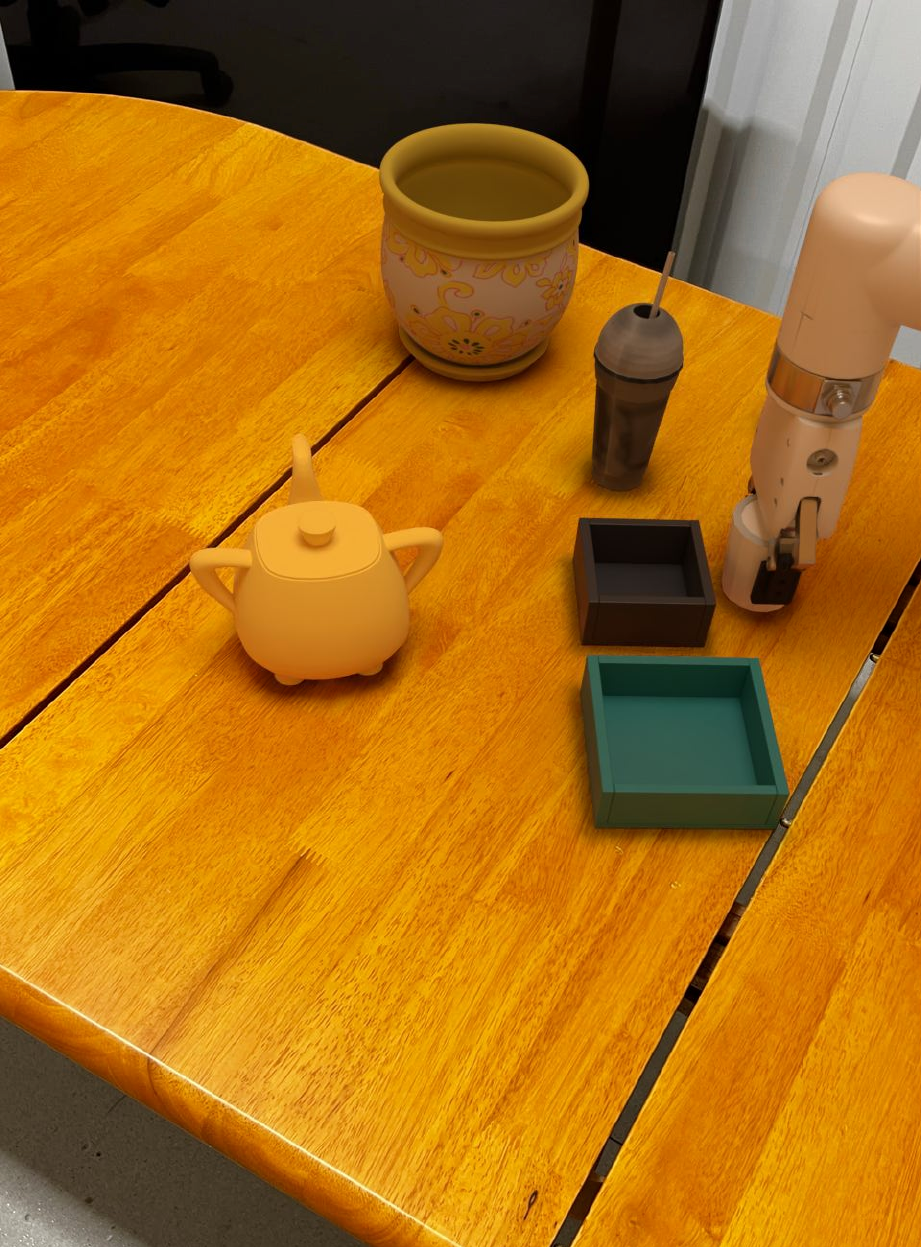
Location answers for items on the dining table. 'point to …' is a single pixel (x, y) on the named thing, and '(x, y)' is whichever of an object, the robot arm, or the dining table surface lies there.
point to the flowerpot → (479, 245)
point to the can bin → (642, 582)
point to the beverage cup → (633, 388)
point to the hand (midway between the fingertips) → (762, 567)
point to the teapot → (318, 583)
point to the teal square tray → (681, 743)
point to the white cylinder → (748, 553)
